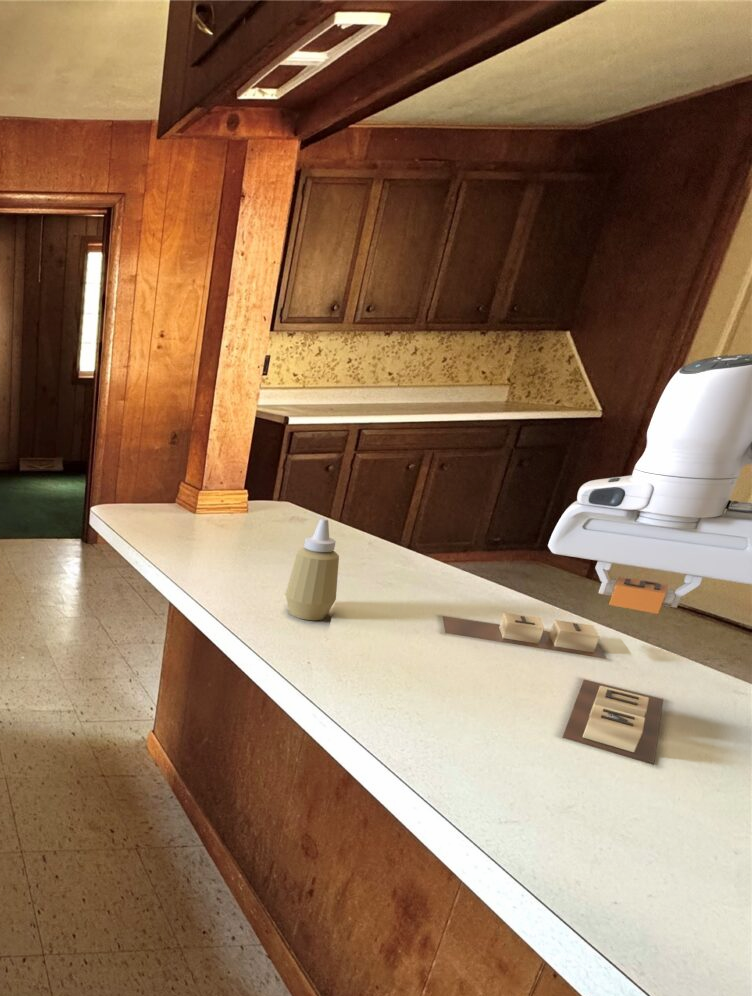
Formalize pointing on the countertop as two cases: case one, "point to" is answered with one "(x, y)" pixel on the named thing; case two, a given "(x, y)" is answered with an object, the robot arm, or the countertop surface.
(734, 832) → the countertop surface
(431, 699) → the countertop surface
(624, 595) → the s tile
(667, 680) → the countertop surface
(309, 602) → the squeeze bottle
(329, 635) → the countertop surface
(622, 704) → the front rack
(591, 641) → the back rack
